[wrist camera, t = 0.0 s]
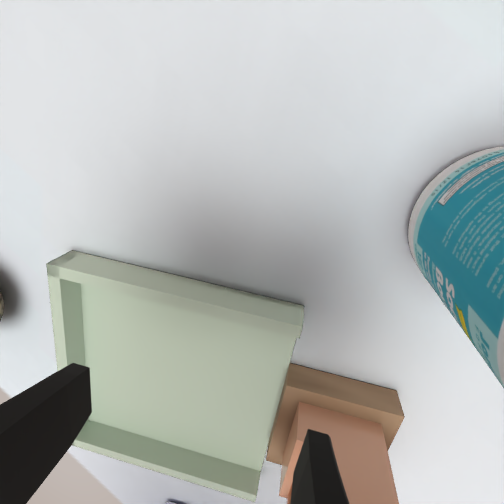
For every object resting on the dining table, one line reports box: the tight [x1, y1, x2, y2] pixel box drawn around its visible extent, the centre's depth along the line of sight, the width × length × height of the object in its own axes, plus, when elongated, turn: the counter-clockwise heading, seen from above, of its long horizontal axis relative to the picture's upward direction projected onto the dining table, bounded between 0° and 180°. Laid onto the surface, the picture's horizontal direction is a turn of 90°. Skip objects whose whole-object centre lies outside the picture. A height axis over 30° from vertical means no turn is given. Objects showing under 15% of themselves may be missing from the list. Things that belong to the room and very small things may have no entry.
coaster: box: [266, 363, 404, 465], centre depth 21 cm, size 7×7×2 cm
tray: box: [46, 250, 304, 502], centre depth 22 cm, size 16×16×2 cm
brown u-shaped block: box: [279, 402, 399, 504], centre depth 17 cm, size 5×5×7 cm
